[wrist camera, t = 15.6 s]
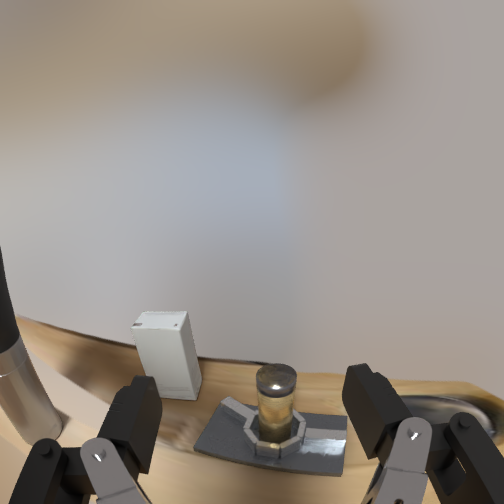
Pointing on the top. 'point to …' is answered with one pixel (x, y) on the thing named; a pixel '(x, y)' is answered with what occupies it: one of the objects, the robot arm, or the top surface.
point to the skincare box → (168, 353)
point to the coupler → (275, 402)
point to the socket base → (270, 454)
